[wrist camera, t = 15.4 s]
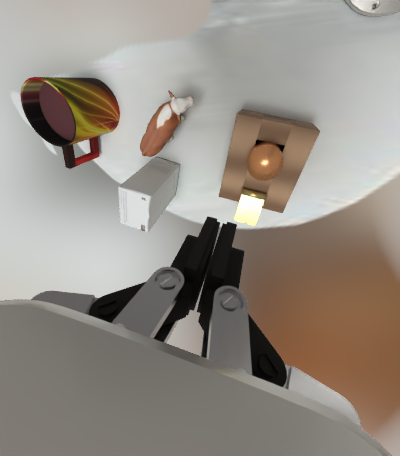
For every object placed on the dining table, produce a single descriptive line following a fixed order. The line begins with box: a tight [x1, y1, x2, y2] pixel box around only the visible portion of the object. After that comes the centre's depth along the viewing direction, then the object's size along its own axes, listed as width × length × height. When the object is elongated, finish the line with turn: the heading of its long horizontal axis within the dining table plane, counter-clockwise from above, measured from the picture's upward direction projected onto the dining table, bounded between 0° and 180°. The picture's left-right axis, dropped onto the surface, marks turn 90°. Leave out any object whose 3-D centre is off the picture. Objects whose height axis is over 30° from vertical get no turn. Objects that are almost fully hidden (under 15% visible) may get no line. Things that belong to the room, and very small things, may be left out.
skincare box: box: [118, 157, 180, 232], centre depth 41 cm, size 8×6×15 cm
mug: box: [21, 77, 120, 169], centre depth 39 cm, size 10×14×12 cm
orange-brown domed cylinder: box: [247, 141, 283, 181], centre depth 34 cm, size 5×5×8 cm
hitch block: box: [219, 110, 320, 213], centre depth 37 cm, size 14×12×6 cm
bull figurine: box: [140, 91, 194, 157], centre depth 37 cm, size 4×13×8 cm, turn 136°
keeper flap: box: [234, 188, 267, 226], centre depth 38 cm, size 6×4×1 cm
